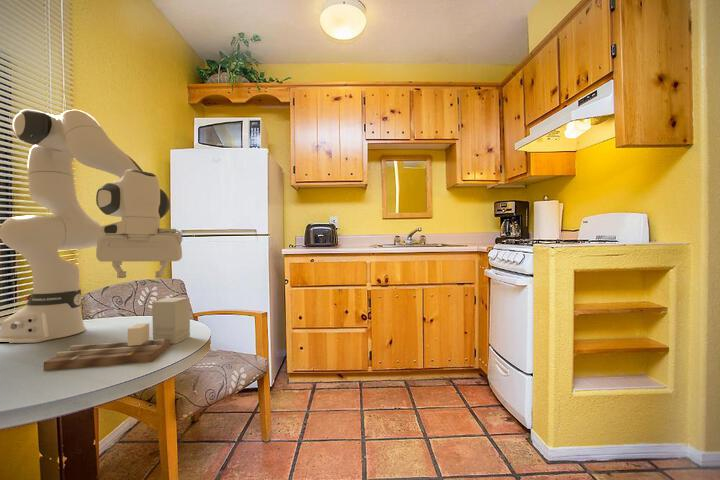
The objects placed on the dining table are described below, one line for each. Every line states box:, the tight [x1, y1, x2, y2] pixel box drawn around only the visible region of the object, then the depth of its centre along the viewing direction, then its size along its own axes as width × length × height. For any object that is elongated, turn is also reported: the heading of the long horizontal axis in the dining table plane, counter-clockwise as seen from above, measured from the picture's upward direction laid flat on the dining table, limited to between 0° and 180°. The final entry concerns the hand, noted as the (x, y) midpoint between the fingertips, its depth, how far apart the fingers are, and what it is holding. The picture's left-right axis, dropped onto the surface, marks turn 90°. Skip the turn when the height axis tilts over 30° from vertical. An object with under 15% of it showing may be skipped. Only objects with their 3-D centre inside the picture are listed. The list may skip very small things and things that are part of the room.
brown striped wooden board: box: [43, 339, 171, 371], centre depth 83 cm, size 23×12×3 cm, turn 103°
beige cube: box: [125, 322, 153, 347], centre depth 84 cm, size 5×5×5 cm
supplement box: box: [151, 297, 191, 345], centre depth 97 cm, size 7×7×13 cm
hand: (140, 277), depth 88 cm, fingers open, 8 cm apart
